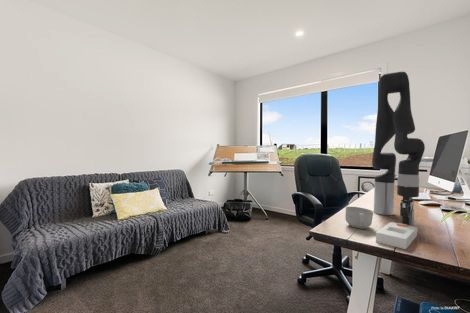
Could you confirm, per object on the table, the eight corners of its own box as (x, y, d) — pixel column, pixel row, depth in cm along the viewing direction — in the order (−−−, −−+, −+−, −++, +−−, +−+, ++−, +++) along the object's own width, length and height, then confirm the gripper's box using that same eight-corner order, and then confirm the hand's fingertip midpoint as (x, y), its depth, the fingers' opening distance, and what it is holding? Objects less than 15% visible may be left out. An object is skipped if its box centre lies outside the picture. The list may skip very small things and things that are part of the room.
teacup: (346, 221, 112) (346, 204, 111) (373, 225, 106) (373, 208, 106) (343, 229, 100) (343, 210, 99) (372, 234, 94) (373, 214, 94)
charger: (401, 227, 104) (402, 202, 104) (413, 230, 101) (414, 204, 101) (399, 229, 101) (400, 204, 101) (411, 232, 98) (412, 205, 98)
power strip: (390, 230, 100) (390, 220, 100) (417, 235, 94) (417, 225, 93) (375, 241, 86) (376, 230, 86) (405, 249, 80) (405, 237, 80)
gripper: (401, 182, 108) (400, 219, 108) (393, 185, 98) (392, 226, 99) (422, 184, 103) (420, 223, 103) (415, 187, 93) (414, 230, 93)
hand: (406, 224), depth 101 cm, fingers closed on charger, 4 cm apart
